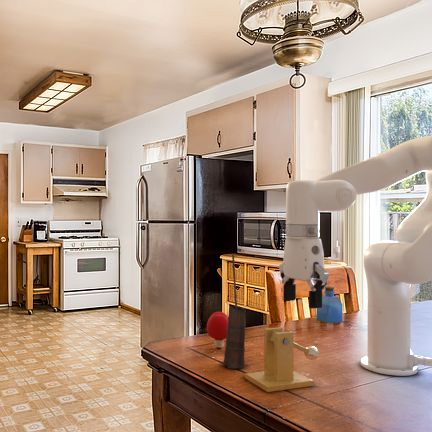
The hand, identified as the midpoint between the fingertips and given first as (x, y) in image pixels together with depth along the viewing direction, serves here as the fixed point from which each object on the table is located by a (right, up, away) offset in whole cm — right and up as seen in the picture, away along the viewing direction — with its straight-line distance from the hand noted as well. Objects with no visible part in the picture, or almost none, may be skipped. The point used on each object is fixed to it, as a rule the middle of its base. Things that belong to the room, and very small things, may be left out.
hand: (302, 304), depth 112 cm
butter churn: (-14, -17, +6) cm, 23 cm away
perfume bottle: (+29, -17, +58) cm, 67 cm away
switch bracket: (-7, -17, -5) cm, 19 cm away
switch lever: (-3, -10, -4) cm, 12 cm away
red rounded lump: (-16, -17, +22) cm, 32 cm away
